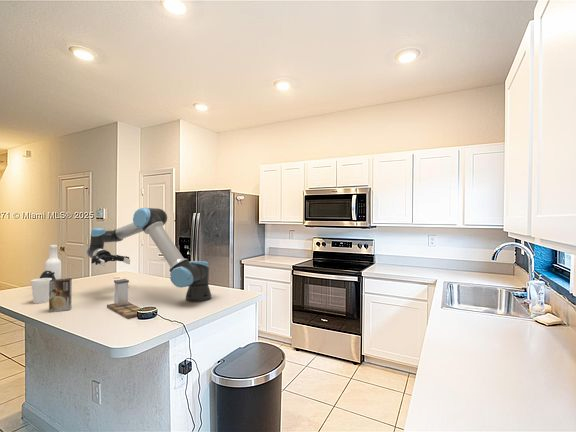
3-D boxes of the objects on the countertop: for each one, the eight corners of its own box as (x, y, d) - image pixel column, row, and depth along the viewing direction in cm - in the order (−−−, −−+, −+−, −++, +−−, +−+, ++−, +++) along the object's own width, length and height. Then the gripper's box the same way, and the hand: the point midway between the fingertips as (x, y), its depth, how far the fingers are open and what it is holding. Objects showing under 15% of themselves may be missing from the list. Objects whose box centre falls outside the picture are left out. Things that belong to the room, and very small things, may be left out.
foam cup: (26, 303, 172) (27, 280, 173) (44, 299, 181) (45, 277, 181) (37, 305, 169) (37, 281, 169) (55, 301, 177) (55, 278, 178)
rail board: (106, 307, 166) (106, 304, 166) (126, 303, 174) (126, 300, 174) (127, 319, 148) (128, 315, 148) (148, 314, 156) (148, 311, 156)
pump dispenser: (45, 297, 186) (46, 272, 186) (32, 296, 188) (32, 271, 188) (61, 293, 196) (61, 269, 196) (48, 292, 198) (48, 268, 198)
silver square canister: (113, 304, 166) (114, 280, 166) (124, 302, 170) (124, 278, 170) (117, 306, 162) (118, 281, 162) (128, 304, 166) (129, 280, 167)
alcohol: (53, 290, 201) (54, 245, 201) (40, 290, 201) (41, 245, 202) (64, 287, 210) (64, 244, 210) (51, 287, 210) (52, 244, 210)
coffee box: (72, 307, 166) (72, 277, 166) (70, 310, 161) (70, 279, 161) (51, 309, 162) (51, 279, 162) (48, 312, 156) (48, 281, 156)
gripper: (122, 260, 195) (138, 267, 182) (77, 263, 176) (91, 271, 162) (124, 249, 195) (139, 255, 182) (79, 250, 175) (92, 257, 162)
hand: (116, 262), depth 172 cm, fingers open, 13 cm apart
